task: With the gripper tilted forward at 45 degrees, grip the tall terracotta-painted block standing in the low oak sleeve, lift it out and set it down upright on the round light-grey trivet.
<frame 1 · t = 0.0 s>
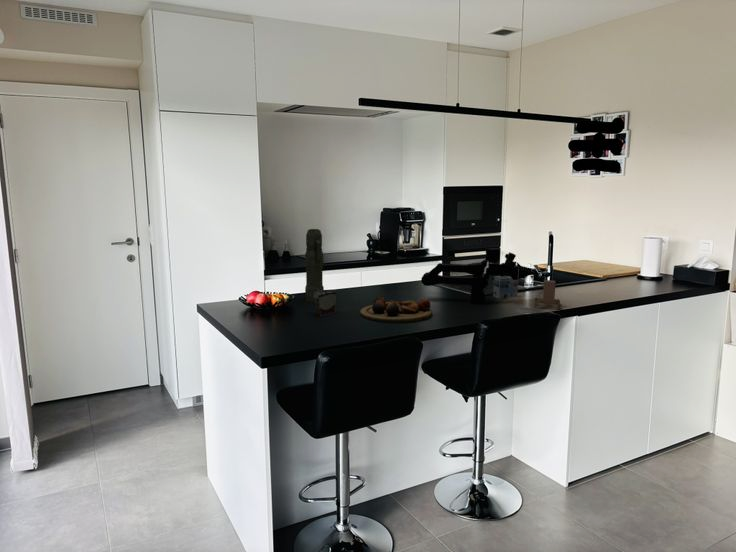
hand: (532, 271, 267), 17 cm above the countertop, tool horizontal, fingers open, 9 cm apart
food container: (322, 313, 250), on the countertop
light bulb box: (505, 297, 287), on the countertop
block: (548, 306, 265), point 1 cm above the countertop, touching sleeve
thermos: (314, 301, 275), on the countertop
sleeve: (548, 307, 265), on the countertop
trivet: (525, 311, 256), on the countertop
wooden plate with food: (395, 315, 249), on the countertop
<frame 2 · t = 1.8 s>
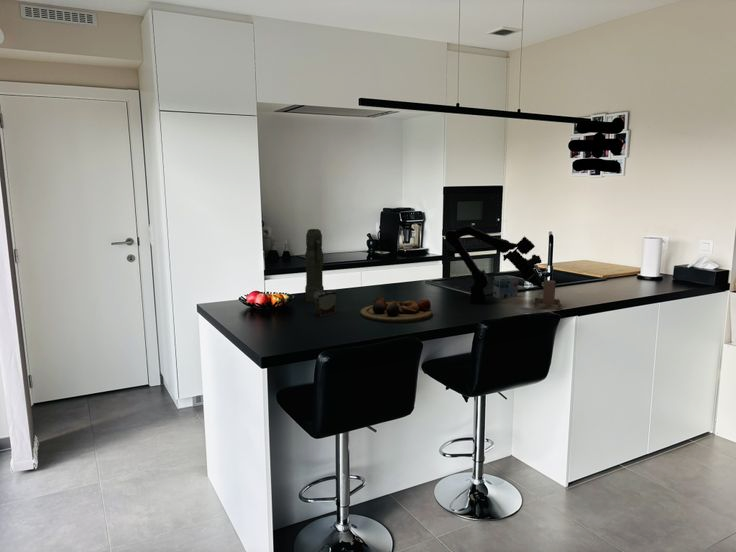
hand: (541, 285, 264), 10 cm above the countertop, tool tilted 45°, fingers open, 9 cm apart
nothing on the countertop moved.
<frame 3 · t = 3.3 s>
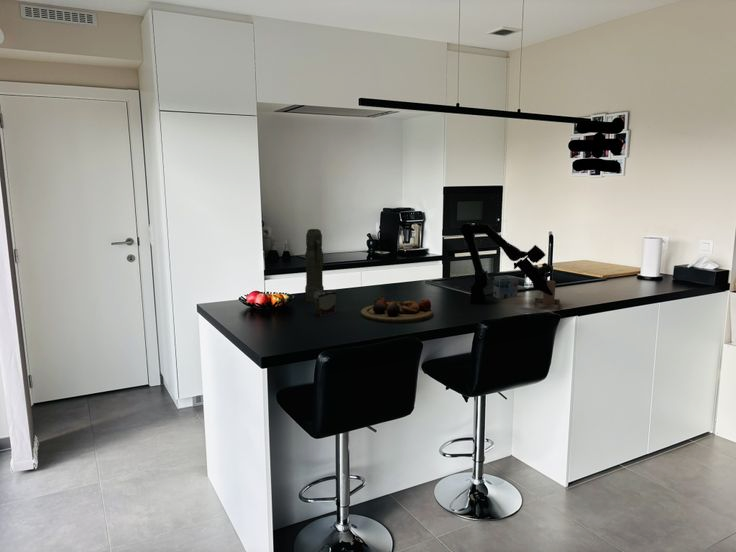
hand: (552, 294, 264), 7 cm above the countertop, tool tilted 45°, fingers closed on block, 5 cm apart
block: (548, 306, 265), point 1 cm above the countertop, touching gripper, sleeve
everything else where it was.
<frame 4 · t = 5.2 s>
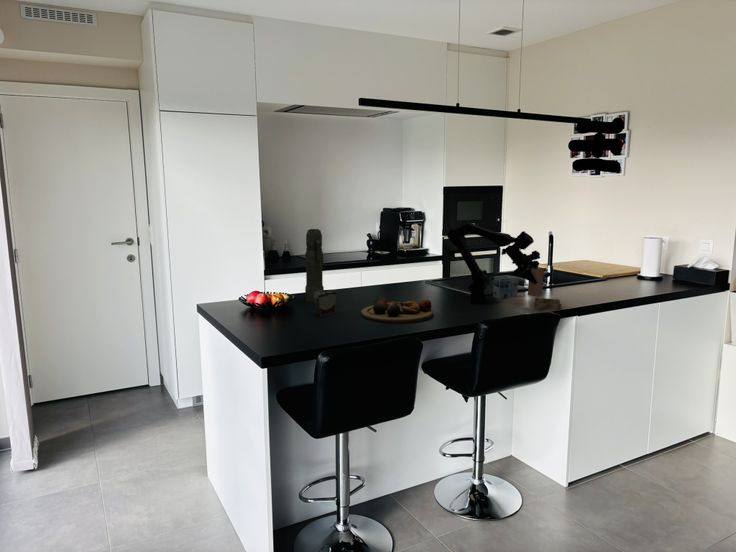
hand: (538, 282, 255), 13 cm above the countertop, tool tilted 45°, fingers closed on block, 5 cm apart
block: (534, 295, 257), point 7 cm above the countertop, touching gripper
everything else where it was.
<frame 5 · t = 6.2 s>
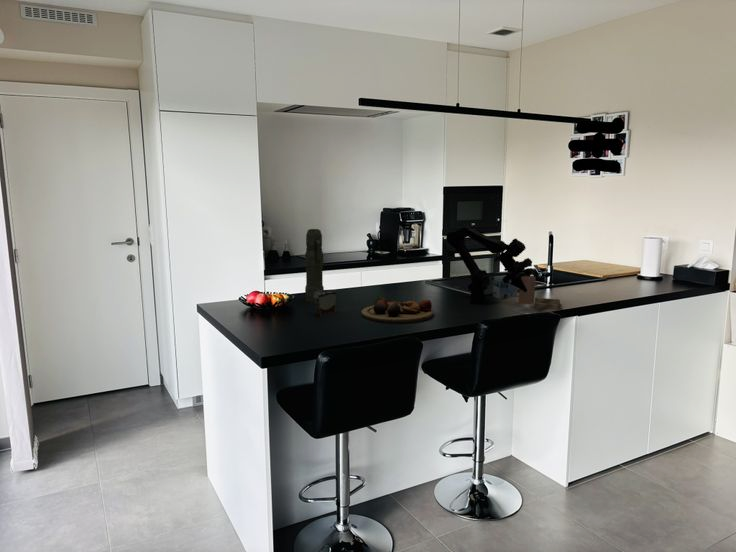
hand: (529, 290, 253), 10 cm above the countertop, tool tilted 45°, fingers closed on block, 5 cm apart
block: (526, 303, 255), point 4 cm above the countertop, touching gripper
when the fingers open (8 cm above the countertop, at t = 6.9 s): block drops 1 cm, resting on trivet.
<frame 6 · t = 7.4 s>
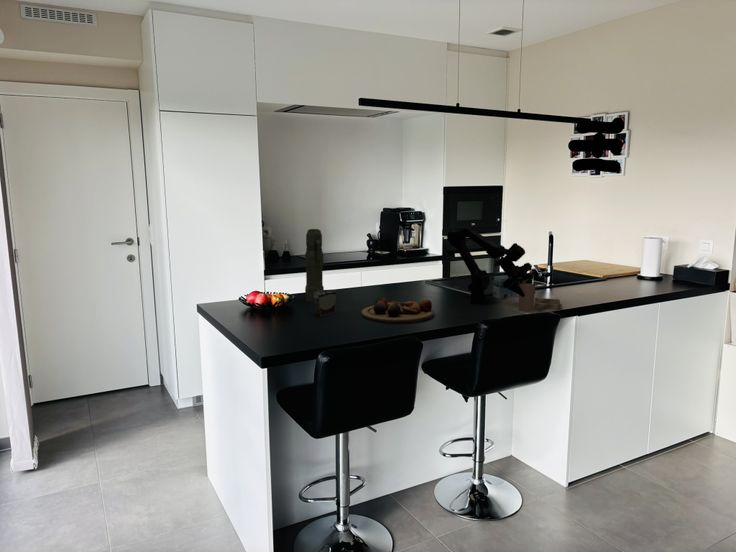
hand: (529, 295, 253), 8 cm above the countertop, tool tilted 45°, fingers open, 9 cm apart
block: (525, 310, 255), point 1 cm above the countertop, touching trivet
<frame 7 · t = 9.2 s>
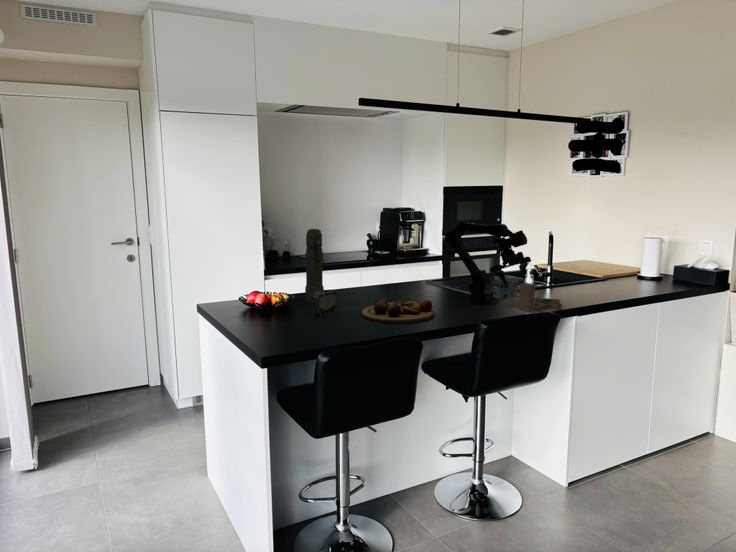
hand: (515, 282, 261), 12 cm above the countertop, tool tilted 20°, fingers open, 9 cm apart
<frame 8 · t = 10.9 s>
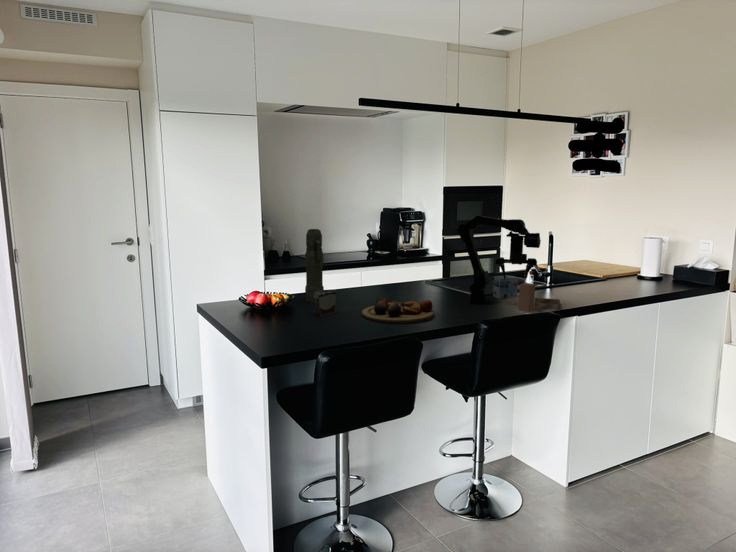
hand: (514, 279, 264), 13 cm above the countertop, tool pointing down, fingers open, 9 cm apart
at the end: block inside the target area on the trivet (0.0 cm from its centre), point 0.8 cm above the trivet's base; block tilted 0°; block touching trivet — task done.
